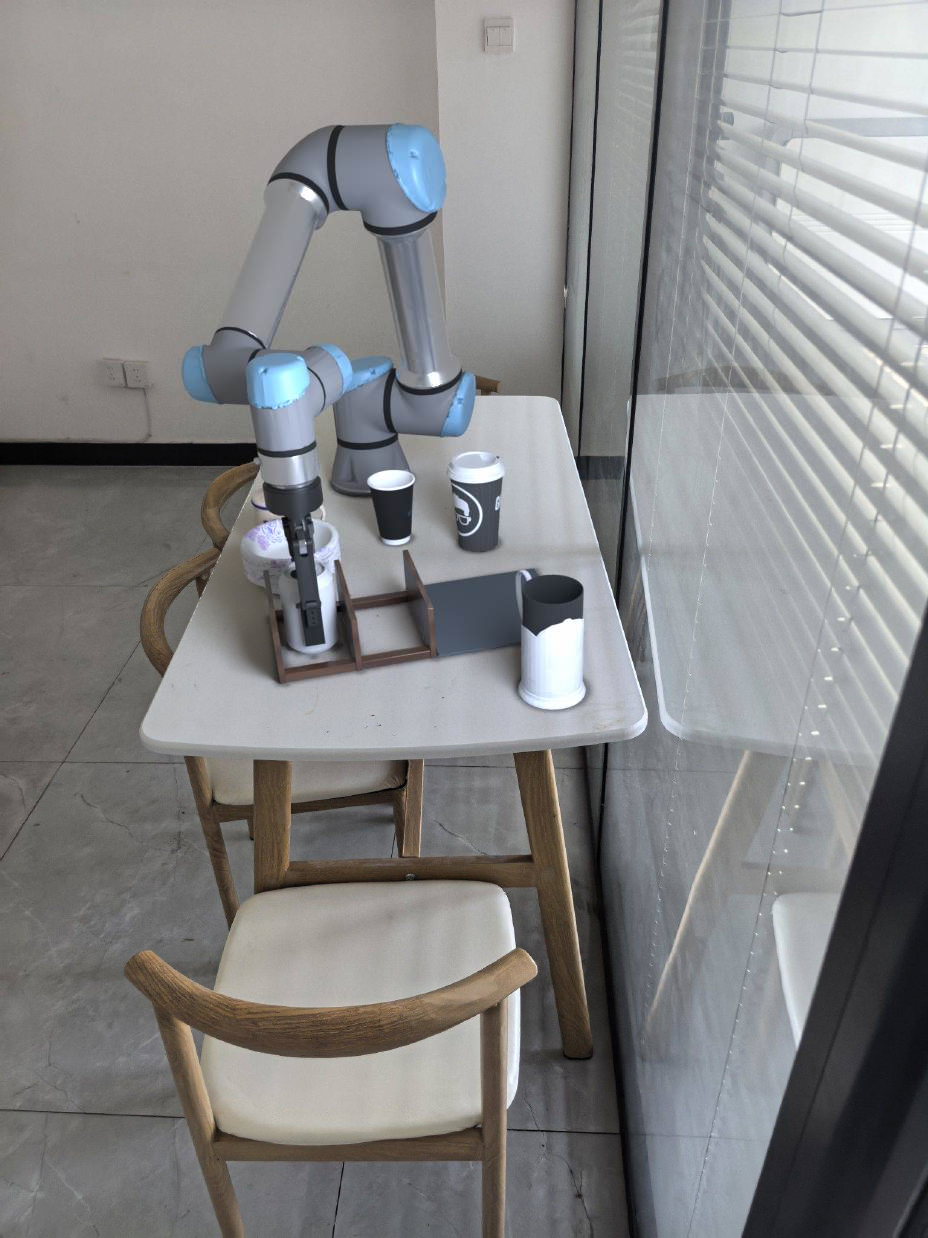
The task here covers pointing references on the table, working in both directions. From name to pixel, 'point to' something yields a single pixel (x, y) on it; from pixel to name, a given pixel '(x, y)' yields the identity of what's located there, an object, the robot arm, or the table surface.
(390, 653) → the rack
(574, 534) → the table surface
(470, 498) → the coffee cup
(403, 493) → the dixie cup
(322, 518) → the teacup with lid
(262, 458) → the robot arm
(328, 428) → the table surface
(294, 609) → the can
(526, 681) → the glass holder
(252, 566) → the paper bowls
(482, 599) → the mat
